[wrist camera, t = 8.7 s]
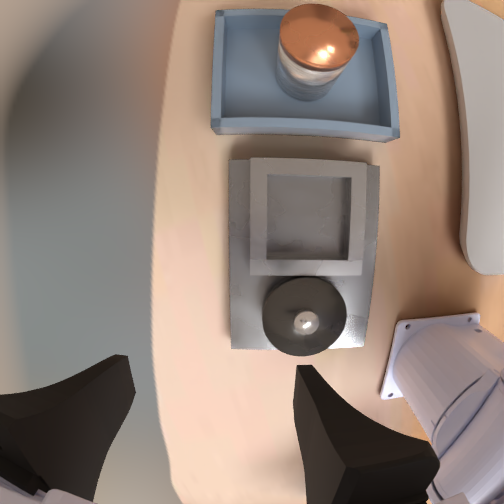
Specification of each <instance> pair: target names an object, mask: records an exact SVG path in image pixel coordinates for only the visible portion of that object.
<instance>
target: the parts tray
mask: <svg viewBox="0 0 504 504" xmlns="http://www.w3.org/2000/svg"><path fill="white" fill-rule="evenodd" d="M288 11H290V10H284V9H231V10H216V15H215V31H214V49H213V70H212V97H211V129H212V130H213V131H214V132H215V134H216V135H230V134H275V135H304V136H322V137H336V138H347V139H358V140H367V141H376V142H384V143H386V142H389V141H392V140H395V139H398V138H400V129H399V112H398V100H397V89H396V80H395V72H394V64H393V57H392V50H391V44H390V38H389V33H388V27H387V24H385V23H381V22H376V21H371V20H366V19H361V18H356V17H350V16H347V17H348V18H349V19H350V20H351V21H352V23H353V24H354V26H355V27H356V29H357V32H358V35H359V46H358V49H357V51H356V52H355V54H354V55H353V57H352V58H351V60H350V61H349V63H348V64H347V66H346V67H345V69H344V70H343V72H342V73H341V75H340V76H339V78H338V79H337V81H336V82H335V84H334V85H333V87H332V88H331V90H330V91H329V93H328V94H327V95H326V96H324V97H323V98H321V99H319V100H316V101H311V102H304V101H299V100H296V99H293V98H291V97H289V96H288V95H287V94H285V93H284V92H283V91H282V90H281V88H280V87H279V85H278V83H277V80H276V67H277V56H278V45H279V34H280V24H281V21H282V19H283V17H284V16H285V14H286V13H287V12H288Z"/></svg>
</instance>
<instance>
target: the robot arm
mask: <svg viewBox="0 0 504 504" xmlns="http://www.w3.org/2000/svg"><path fill="white" fill-rule="evenodd" d="M468 318H469V320H468ZM479 321H480V314H479V313H477V312H475V313H467V314H459V315H450V316H441V317H431V318H421V319H409V320H401V321H399V322H398V323H397V324H396V328H395V333H394V338H393V343H392V348H391V352H390V357H389V361H388V365H387V369H386V373H385V377H384V381H383V385H382V388H381V392H380V397H381V399H383V400H386V399H392V398H398V397H404V398H405V399H406V401H407V403H408V404H409V406H410V408H411V409H412V411H413V412H414V414H415V416H416V417H417V419H418V421H419V422H420V424H421V426H422V427H423V429H424V431H425V432H426V434H427V436H428V437H429V439H430V441H431V443H432V446H431V445H430V444H429V442H428V441H425V440H421V439H417V438H414V437H410V436H407V435H404V434H401V433H399V432H396V431H394V430H391V429H389V428H387V427H385V426H383V425H381V424H379V423H377V422H375V421H373V420H371V419H370V418H368V417H367V416H365V415H364V414H362V413H361V412H359V411H358V410H356V409H355V408H354V407H352V406H351V405H350V404H348V403H347V402H346V401H345V400H344V399H343V398H342V397H341V396H340V395H339V394H337V393H336V391H335V390H334V389H333V388H332V387H331V386H330V385H329V384H328V383H327V382H326V381H325V380H324V379H323V377H322V376H321V375H320V374H319V373H318V372H317V370H316V369H315V368H314V367H313V366H312V365H297V368H296V379H295V389H294V399H293V408H294V421H295V427H296V431H297V436H298V441H299V445H300V450H301V455H302V459H303V465H304V471H305V483H306V498H307V504H427V503H426V501H427V500H428V499H430V501H431V503H432V504H504V342H502V341H501V340H500V339H498V338H497V337H496V336H494V335H493V334H492V333H490V332H489V331H488V330H486V329H485V328H483V327H482V326H481V325H479ZM407 324H409V325H408V327H407V328H405V327H406V325H407ZM135 393H136V391H135V387H134V383H133V378H132V374H131V370H130V365H129V361H128V356H124V355H113V356H111V357H109V358H107V359H105V360H103V361H101V362H99V363H97V364H95V365H93V366H91V367H90V368H88V369H86V370H84V371H82V372H80V373H78V374H76V375H74V376H72V377H70V378H67V379H65V380H63V381H60V382H58V383H55V384H52V385H50V386H47V387H43V388H40V389H36V390H31V391H27V392H22V393H14V394H4V395H0V504H97V503H94V502H93V499H94V494H95V490H96V486H97V482H98V479H99V476H100V472H101V469H102V466H103V463H104V460H105V457H106V455H107V452H108V450H109V448H110V446H111V444H112V442H113V440H114V438H115V436H116V434H117V432H118V431H119V429H120V427H121V425H122V423H123V422H124V420H125V418H126V416H127V414H128V412H129V410H130V407H131V405H132V402H133V399H134V396H135ZM390 393H391V394H390ZM389 394H390V395H389ZM426 491H427V492H426Z"/></svg>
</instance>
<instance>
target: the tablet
mask: <svg viewBox="0 0 504 504" xmlns="http://www.w3.org/2000/svg"><path fill="white" fill-rule="evenodd" d="M441 21H442V25H443V29H444V33H445V36H446V41H447V45H448V49H449V54H450V59H451V64H452V69H453V75H454V80H455V87H456V94H457V101H458V110H459V120H460V132H461V151H462V201H461V219H460V232H459V239H460V246H461V249H462V251H463V253H464V257H465V259H466V261H467V263H468V265H469V266H470V267H471V268H472V269H473V270H474V271H476V272H478V273H480V274H483V275H501V274H504V20H503V19H502V18H500V17H498V16H497V15H495V14H493V13H491V12H490V11H488V10H486V9H484V8H482V7H480V6H478V5H477V4H475V3H473V2H471V1H469V0H443V1H442V3H441Z"/></svg>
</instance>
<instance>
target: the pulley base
mask: <svg viewBox="0 0 504 504" xmlns="http://www.w3.org/2000/svg"><path fill="white" fill-rule="evenodd" d="M379 176H380V166H375V165H367V163H363V162H351V161H337V160H321V159H299V158H251V160H229V268H230V322H231V349H258V350H280V351H281V352H284V353H286V354H289V355H293V356H309V355H314V354H317V353H320V352H322V351H324V350H326V349H327V348H347V347H362V346H364V342H365V336H366V330H367V324H368V317H369V310H370V303H371V295H372V287H373V278H374V269H375V258H376V246H377V232H378V214H379Z"/></svg>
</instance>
